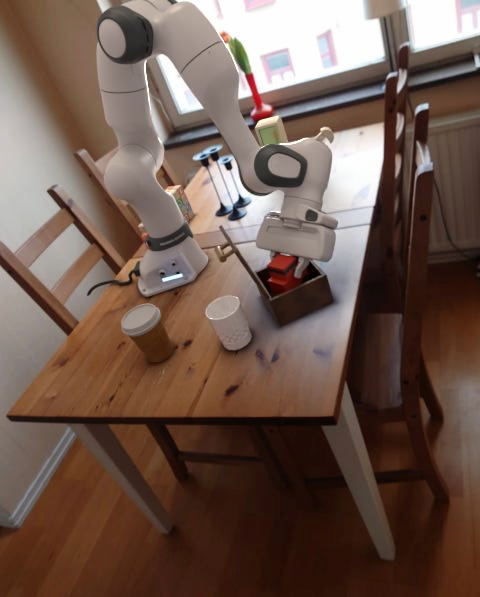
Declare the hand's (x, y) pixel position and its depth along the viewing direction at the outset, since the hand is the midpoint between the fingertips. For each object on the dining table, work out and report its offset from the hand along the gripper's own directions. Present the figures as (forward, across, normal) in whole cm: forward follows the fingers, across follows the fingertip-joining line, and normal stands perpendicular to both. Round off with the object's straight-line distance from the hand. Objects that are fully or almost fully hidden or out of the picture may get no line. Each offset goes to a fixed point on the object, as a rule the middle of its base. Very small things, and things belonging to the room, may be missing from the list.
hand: (285, 274), depth 107 cm
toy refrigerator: (-32, -47, +44) cm, 72 cm away
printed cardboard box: (-5, -67, +16) cm, 70 cm away
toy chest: (+5, 0, +6) cm, 8 cm away
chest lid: (-1, -4, -9) cm, 10 cm away
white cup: (+17, -4, -5) cm, 18 cm away
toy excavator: (-30, -30, +42) cm, 60 cm away
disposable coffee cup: (+25, -20, -14) cm, 35 cm away
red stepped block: (+3, 0, +4) cm, 4 cm away
